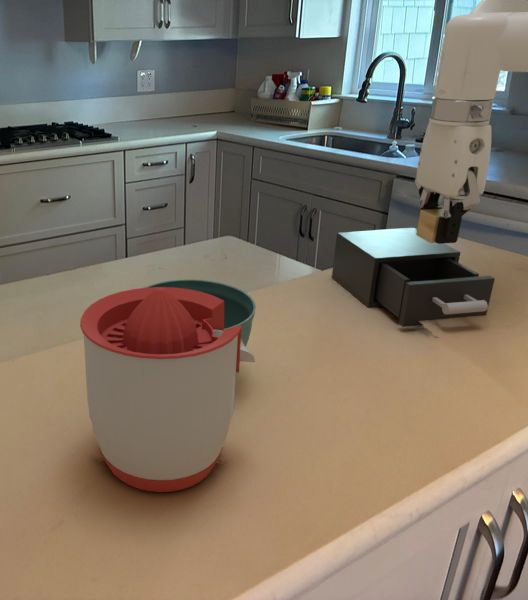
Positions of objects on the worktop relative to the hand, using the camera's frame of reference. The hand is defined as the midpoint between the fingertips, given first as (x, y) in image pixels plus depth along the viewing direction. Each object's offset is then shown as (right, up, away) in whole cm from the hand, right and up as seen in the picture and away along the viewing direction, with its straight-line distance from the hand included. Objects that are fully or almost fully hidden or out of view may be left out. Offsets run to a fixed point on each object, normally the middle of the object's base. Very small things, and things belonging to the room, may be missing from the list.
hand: (436, 236), depth 93 cm
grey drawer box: (-1, -8, +15) cm, 17 cm away
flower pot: (-38, -20, -11) cm, 45 cm away
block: (0, 0, 0) cm, 0 cm away
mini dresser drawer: (+1, -12, +4) cm, 12 cm away
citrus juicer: (-42, -27, -26) cm, 56 cm away
